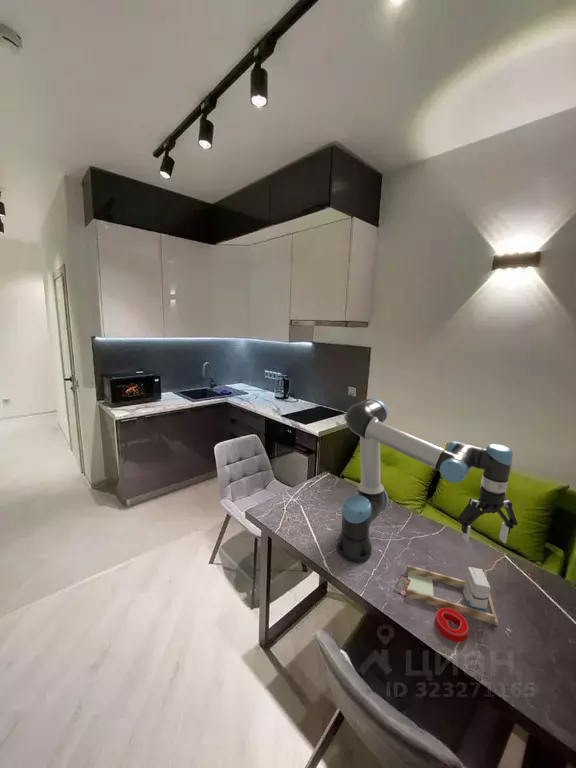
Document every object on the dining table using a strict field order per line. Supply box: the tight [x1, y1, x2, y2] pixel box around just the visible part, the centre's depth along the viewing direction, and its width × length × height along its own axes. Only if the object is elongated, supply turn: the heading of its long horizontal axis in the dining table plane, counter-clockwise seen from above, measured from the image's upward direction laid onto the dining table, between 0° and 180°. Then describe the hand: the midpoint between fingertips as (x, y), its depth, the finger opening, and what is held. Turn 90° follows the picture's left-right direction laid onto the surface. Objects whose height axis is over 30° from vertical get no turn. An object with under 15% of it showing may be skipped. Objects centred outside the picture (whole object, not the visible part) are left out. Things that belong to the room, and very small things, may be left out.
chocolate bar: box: [394, 574, 411, 598], centre depth 121 cm, size 11×5×1 cm, turn 144°
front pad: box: [407, 572, 435, 597], centre depth 121 cm, size 9×11×1 cm
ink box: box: [462, 566, 492, 612], centre depth 113 cm, size 8×5×12 cm, turn 168°
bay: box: [406, 564, 499, 626], centre depth 117 cm, size 29×13×3 cm, turn 69°
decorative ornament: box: [434, 607, 469, 643], centre depth 105 cm, size 10×10×3 cm
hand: (483, 540), depth 116 cm, fingers open, 13 cm apart
